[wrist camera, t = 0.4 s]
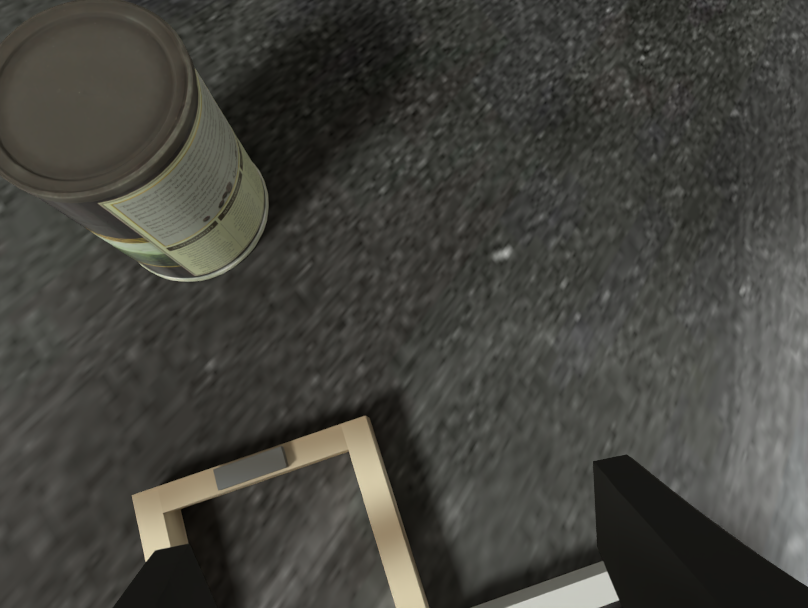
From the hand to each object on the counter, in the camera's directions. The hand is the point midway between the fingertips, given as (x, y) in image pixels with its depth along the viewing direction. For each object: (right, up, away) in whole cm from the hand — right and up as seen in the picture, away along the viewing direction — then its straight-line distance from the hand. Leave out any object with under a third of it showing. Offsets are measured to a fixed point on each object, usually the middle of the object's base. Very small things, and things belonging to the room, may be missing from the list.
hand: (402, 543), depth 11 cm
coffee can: (-14, +11, +31) cm, 36 cm away
